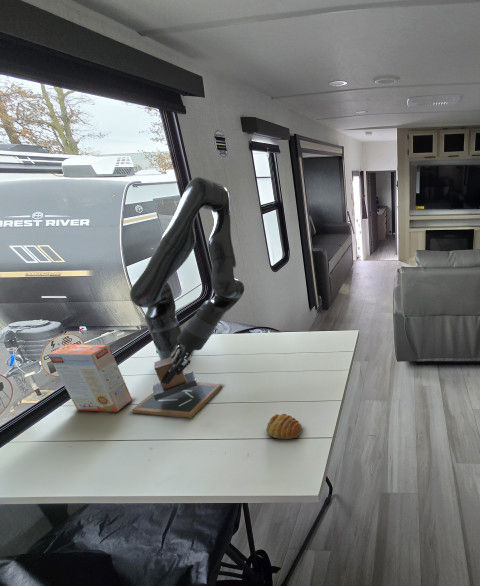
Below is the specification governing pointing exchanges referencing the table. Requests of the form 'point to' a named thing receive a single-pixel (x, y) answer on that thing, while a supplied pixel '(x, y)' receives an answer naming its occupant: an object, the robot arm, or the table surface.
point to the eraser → (176, 383)
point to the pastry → (283, 427)
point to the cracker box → (91, 377)
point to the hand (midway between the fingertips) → (164, 378)
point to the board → (179, 402)
